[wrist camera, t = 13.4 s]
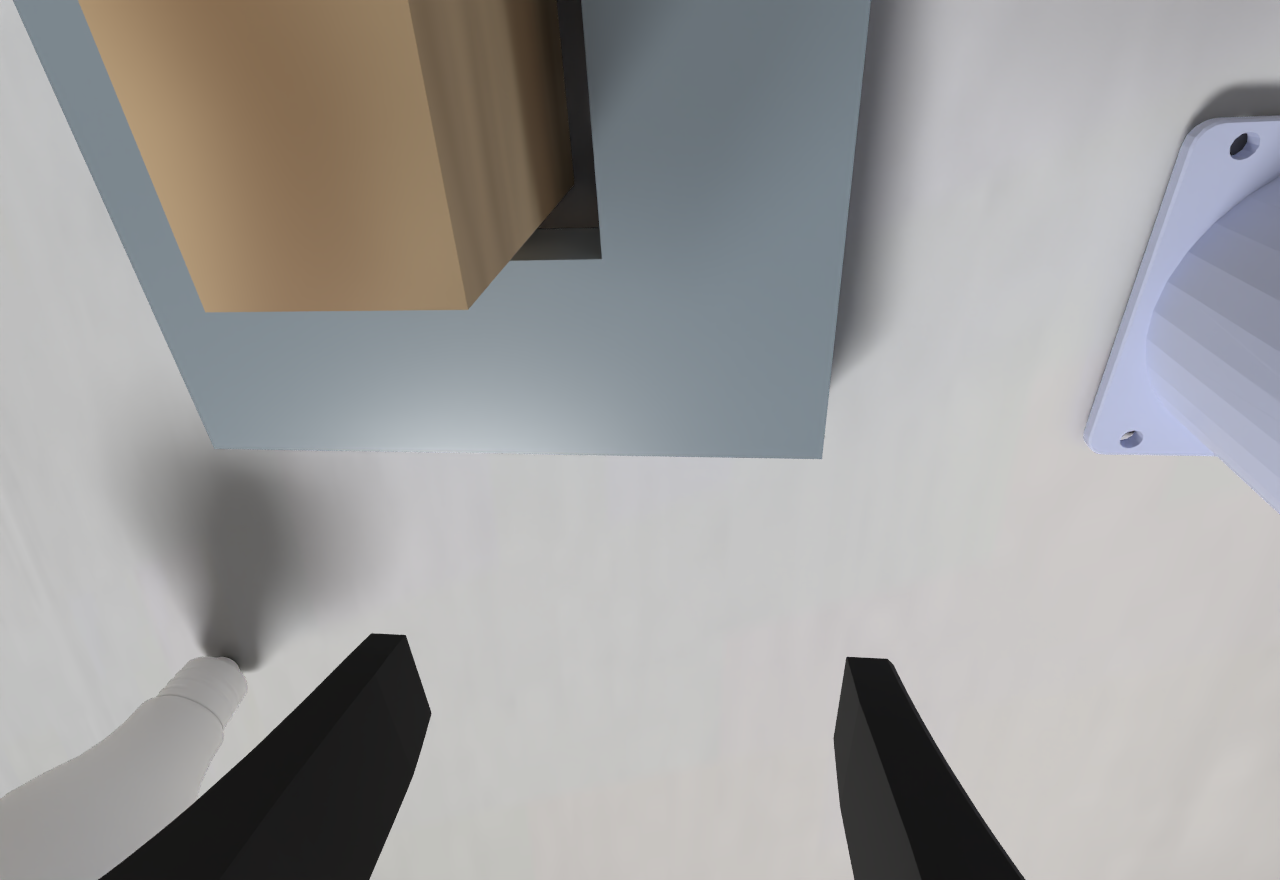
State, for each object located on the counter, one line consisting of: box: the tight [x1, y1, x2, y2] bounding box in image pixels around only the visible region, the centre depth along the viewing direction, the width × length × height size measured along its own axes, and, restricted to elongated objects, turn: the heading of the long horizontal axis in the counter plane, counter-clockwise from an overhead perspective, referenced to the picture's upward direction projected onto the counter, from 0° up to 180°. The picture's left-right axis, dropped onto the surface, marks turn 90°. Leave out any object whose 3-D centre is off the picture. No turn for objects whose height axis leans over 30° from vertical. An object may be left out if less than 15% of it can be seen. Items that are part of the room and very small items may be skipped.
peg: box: [78, 0, 574, 312], centre depth 12 cm, size 4×4×8 cm
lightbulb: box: [0, 656, 248, 880], centre depth 23 cm, size 6×6×11 cm
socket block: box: [13, 0, 871, 459], centre depth 14 cm, size 16×16×2 cm
